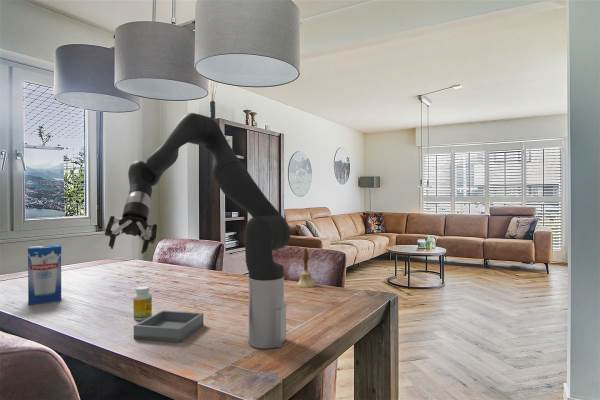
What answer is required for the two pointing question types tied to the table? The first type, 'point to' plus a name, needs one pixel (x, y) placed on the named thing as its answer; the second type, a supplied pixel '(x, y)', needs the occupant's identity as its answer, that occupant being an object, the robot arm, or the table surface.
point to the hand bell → (305, 273)
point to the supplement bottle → (142, 303)
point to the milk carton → (44, 274)
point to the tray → (168, 326)
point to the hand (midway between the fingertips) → (127, 249)
